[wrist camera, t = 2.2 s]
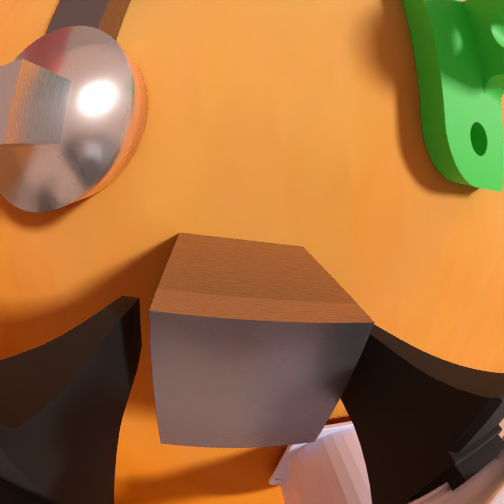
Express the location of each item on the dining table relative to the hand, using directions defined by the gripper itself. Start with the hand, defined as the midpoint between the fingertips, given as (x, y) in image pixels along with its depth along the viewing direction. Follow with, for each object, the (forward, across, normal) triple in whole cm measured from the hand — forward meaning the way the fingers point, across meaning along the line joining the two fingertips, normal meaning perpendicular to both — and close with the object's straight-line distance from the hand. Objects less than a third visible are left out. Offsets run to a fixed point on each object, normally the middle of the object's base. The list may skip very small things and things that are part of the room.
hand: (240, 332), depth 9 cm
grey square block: (+3, 0, 0) cm, 3 cm away
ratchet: (+3, +8, -7) cm, 11 cm away
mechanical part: (+3, -10, -13) cm, 17 cm away
